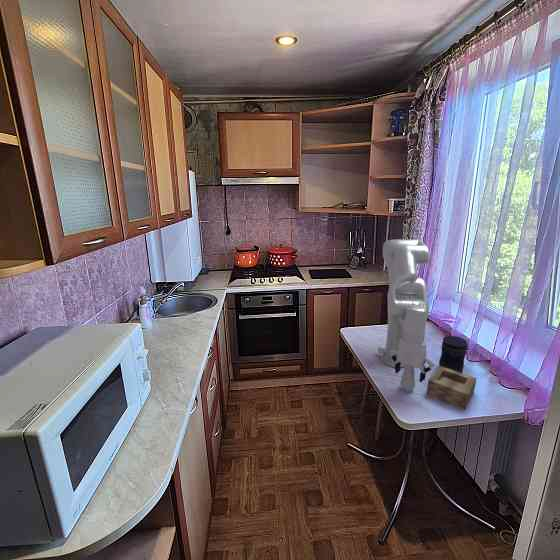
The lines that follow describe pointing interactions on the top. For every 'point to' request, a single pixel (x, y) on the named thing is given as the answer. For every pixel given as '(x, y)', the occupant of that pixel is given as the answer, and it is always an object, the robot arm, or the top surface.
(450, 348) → the storage jar
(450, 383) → the walnut open box
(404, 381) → the salt shaker
